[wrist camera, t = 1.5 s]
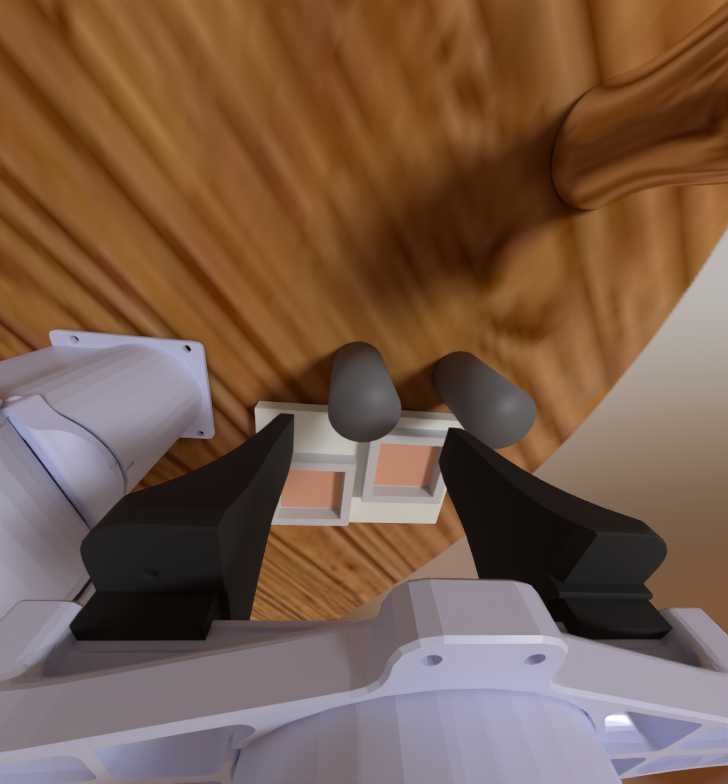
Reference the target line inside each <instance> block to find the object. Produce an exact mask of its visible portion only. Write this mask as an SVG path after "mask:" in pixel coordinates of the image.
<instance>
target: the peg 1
mask: <svg viewBox="0 0 728 784" xmlns="http://www.w3.org/2000/svg"><path fill="white" fill-rule="evenodd" d="M400 415H401V403H400V400H399V397H398V394H397V392H396V390H395V387H394V385H393V383H392V380H391V378H390V375H389V373H388V371H387V368H386V366H385V363H384V361H383V359H382V356H381V354H380V353H379V351H378V350H377V349H376V348H375V347H373V346H372V345H370V344H368V343H365V342H351V343H348V344H346V345H344V346H343V347H341V348H340V349H339V350H338V351H337V352H336V354H335V355H334V357H333V360H332V367H331V379H330V390H329V402H328V418H329V421H330V424H331V426H332V427H333V429H334V430H335V431H336V432H337V433H338V434H339V435H341V436H342V437H344V438H346V439H348V440H351V441H355V442H371V441H375V440H378V439H380V438H383V437H384V436H386V435H387V434H389V433H390V432H391V431H392V430H393V429H394V427H395V426H396V425H397V423H398V421H399V419H400Z"/></svg>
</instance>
